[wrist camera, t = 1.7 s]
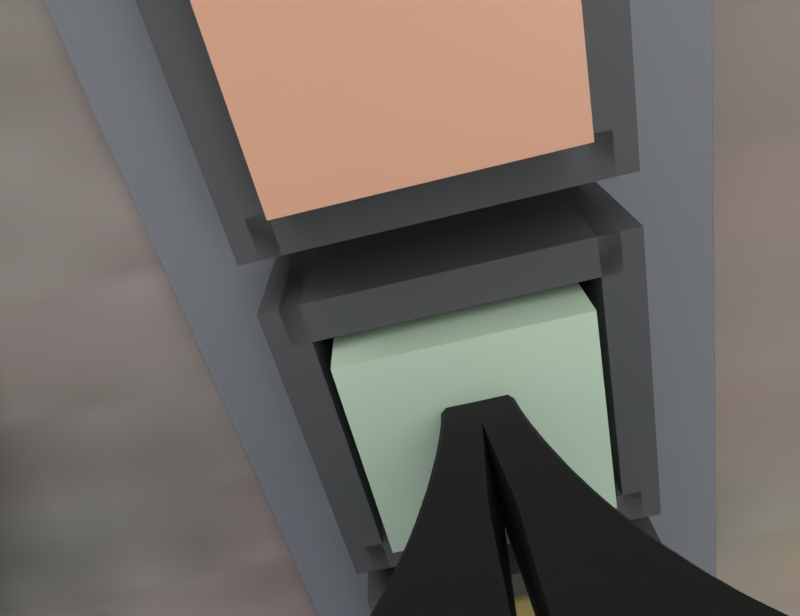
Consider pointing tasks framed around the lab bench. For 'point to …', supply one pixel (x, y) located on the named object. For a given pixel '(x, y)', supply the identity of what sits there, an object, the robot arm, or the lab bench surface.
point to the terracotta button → (393, 90)
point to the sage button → (473, 390)
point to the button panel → (431, 268)
